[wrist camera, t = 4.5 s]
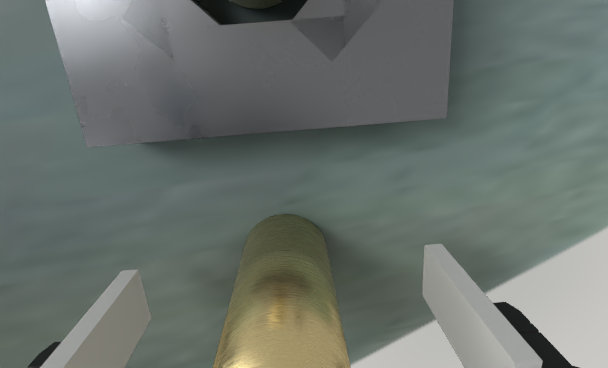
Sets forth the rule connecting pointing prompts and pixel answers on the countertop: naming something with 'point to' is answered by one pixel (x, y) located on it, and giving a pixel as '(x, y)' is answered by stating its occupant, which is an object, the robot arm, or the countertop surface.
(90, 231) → the countertop surface
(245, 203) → the countertop surface
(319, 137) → the countertop surface
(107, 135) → the jig plate
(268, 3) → the fitted bushing
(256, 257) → the bushing
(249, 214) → the countertop surface
